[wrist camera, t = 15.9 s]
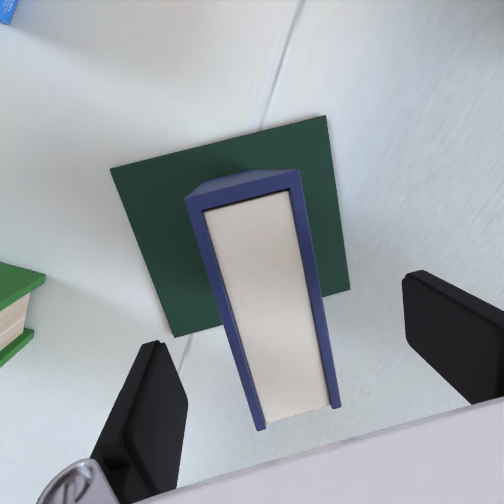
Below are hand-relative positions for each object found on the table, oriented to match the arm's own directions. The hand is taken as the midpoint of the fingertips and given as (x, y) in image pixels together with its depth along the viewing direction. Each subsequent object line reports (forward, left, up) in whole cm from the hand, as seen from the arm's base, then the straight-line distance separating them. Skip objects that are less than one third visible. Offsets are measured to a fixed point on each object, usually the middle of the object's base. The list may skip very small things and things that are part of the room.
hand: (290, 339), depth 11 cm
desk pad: (0, 0, -18) cm, 18 cm away
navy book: (0, 0, -18) cm, 18 cm away
